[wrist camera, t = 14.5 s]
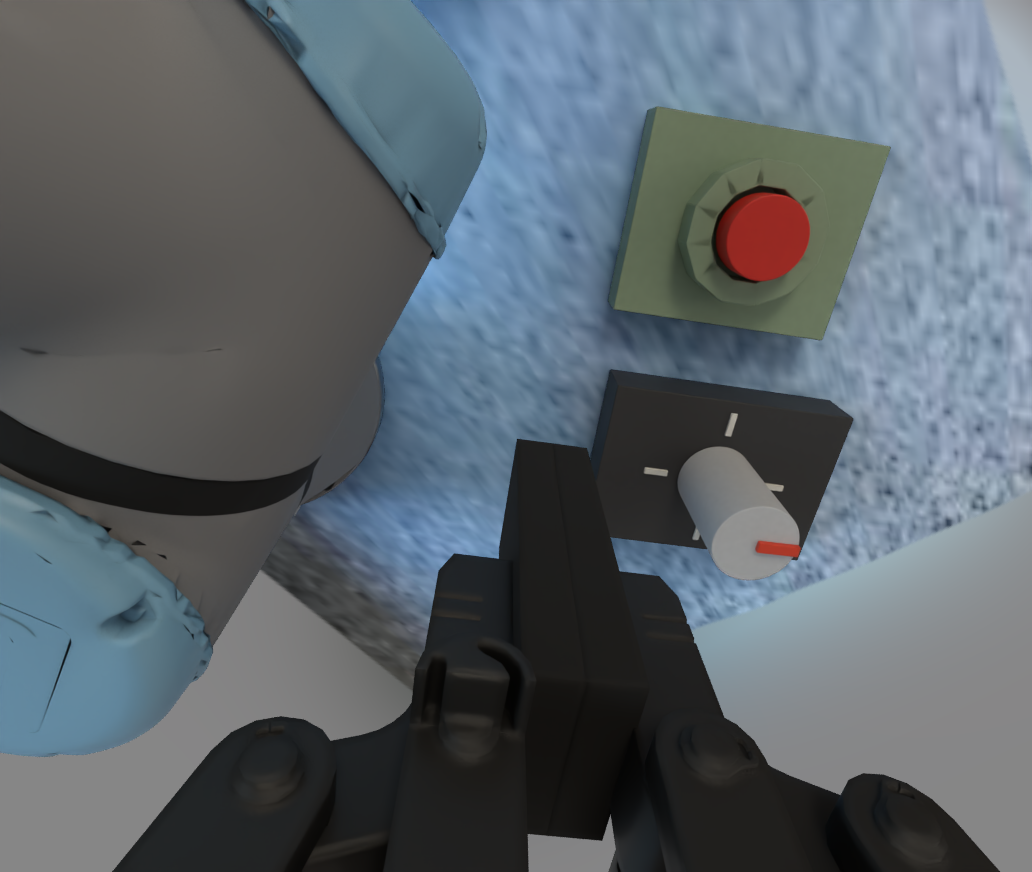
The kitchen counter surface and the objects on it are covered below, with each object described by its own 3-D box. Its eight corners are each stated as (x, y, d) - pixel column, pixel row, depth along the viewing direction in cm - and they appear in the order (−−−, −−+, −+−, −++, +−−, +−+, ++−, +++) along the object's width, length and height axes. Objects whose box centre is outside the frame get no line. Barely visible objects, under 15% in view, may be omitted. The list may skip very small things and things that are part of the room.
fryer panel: (579, 509, 42) (584, 535, 39) (610, 368, 38) (618, 385, 35) (779, 535, 43) (798, 562, 40) (830, 400, 39) (855, 419, 36)
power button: (705, 269, 32) (716, 275, 30) (728, 186, 30) (740, 187, 29) (780, 281, 32) (794, 287, 31) (806, 199, 31) (823, 201, 29)
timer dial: (669, 506, 38) (703, 579, 32) (687, 441, 36) (726, 504, 30) (738, 514, 39) (786, 588, 32) (759, 450, 37) (814, 515, 30)
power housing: (607, 301, 36) (618, 317, 33) (647, 109, 32) (665, 103, 29) (805, 330, 37) (837, 349, 33) (868, 147, 33) (912, 145, 29)
